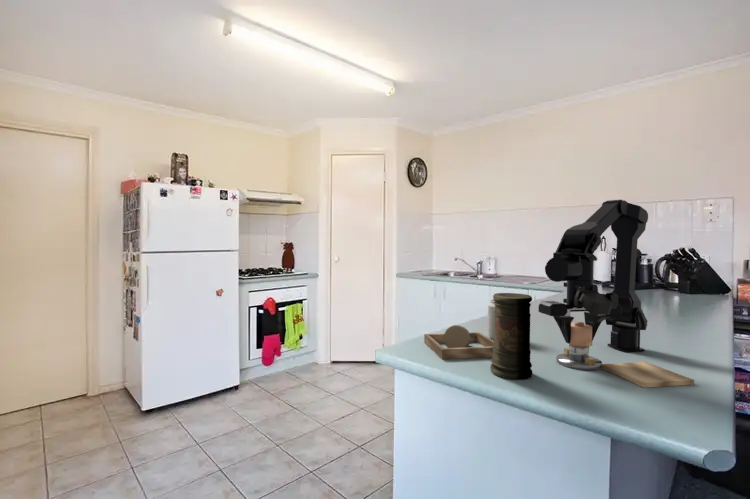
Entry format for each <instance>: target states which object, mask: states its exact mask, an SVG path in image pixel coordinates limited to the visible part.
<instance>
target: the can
mask: <svg viewBox="0 0 750 499" xmlns="http://www.w3.org/2000/svg"><path fill="white" fill-rule="evenodd" d="M494 302H495V300H494V299H493V298H492V299H490V300H489V303H488V304H487V337H488V338H490V339H491V340H493V341H494V311H495V304H494Z"/></svg>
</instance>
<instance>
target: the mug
mask: <svg viewBox="0 0 750 499" xmlns="http://www.w3.org/2000/svg"><path fill="white" fill-rule="evenodd" d="M444 333H445V334H444V342H445V343H444V344H445V346H446V347H447V348H463V347H469V345H470V344H471V342H470V339H471V337H470V333H471V332H469V330H468V329H467V328H466V327H465V326H462V325H460V324H454V325H451V326H449V327H448V328H447V329H446V330H445V332H444Z"/></svg>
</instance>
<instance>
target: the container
mask: <svg viewBox="0 0 750 499" xmlns="http://www.w3.org/2000/svg"><path fill="white" fill-rule="evenodd" d="M493 299H494V300H495V302H494V304H495V311H494V340H493V341H494V346H493V357H491V359H490V363H491V364H490V372H491V373H492V374H493V375H495V376H497V377H500V378H503V379H508V380H513V381H514V380H515V381H516V380H517V381H519V380H520V381H521V380H528V379H530V378H532V376H533V369H532V367H533V365H532V362H531V354H532V353H531V352H532V351H531V316H532V315H531V306H532V304H531V303H532V301H533V297H532V295H529V294H525V293H514V292H499V293H498V292H497V293H493V296H492V300H493Z"/></svg>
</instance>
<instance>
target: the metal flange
mask: <svg viewBox="0 0 750 499" xmlns="http://www.w3.org/2000/svg"><path fill="white" fill-rule="evenodd" d="M555 361H556V363H557V364H558V363H559V365H560V364H561V366H562V365H563V367H565V366H566V368H569V367H570V368H569V369H573V368H574V369H575V370H578V369H581V371H598V370H597V369H599V370H601V369H602V368H601V364H603V361H602V360H600V359H599V358H596V357H594V356H590V346H588V347H582V346H574V345H570V344H568V347H565V348H563V353H560V354H557V355H556V356H555ZM574 369H573V370H574Z"/></svg>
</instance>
